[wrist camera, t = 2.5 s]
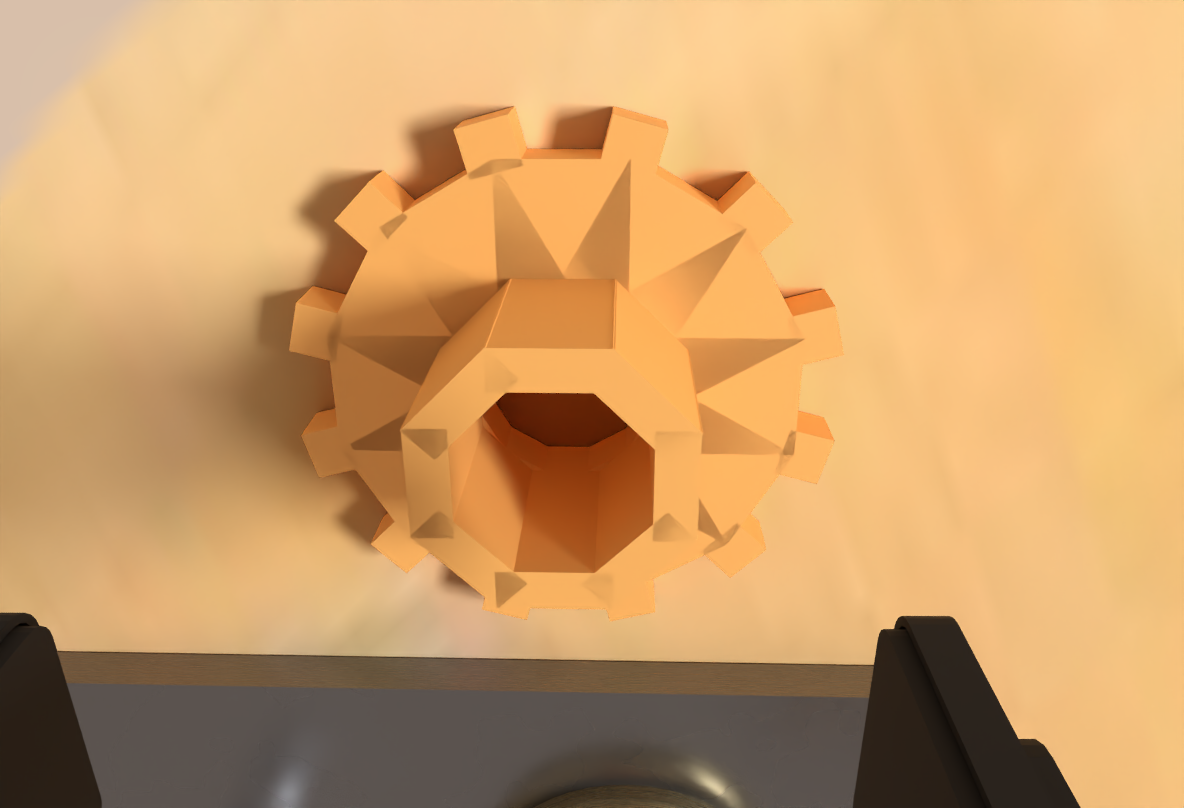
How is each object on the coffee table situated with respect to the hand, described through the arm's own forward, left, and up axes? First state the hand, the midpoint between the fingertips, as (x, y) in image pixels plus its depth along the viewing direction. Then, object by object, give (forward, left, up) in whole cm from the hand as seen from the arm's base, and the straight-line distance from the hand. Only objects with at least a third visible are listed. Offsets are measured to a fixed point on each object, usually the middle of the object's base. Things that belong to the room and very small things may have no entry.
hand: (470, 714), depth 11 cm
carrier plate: (+4, +16, -12) cm, 20 cm away
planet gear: (0, +1, -12) cm, 12 cm away
